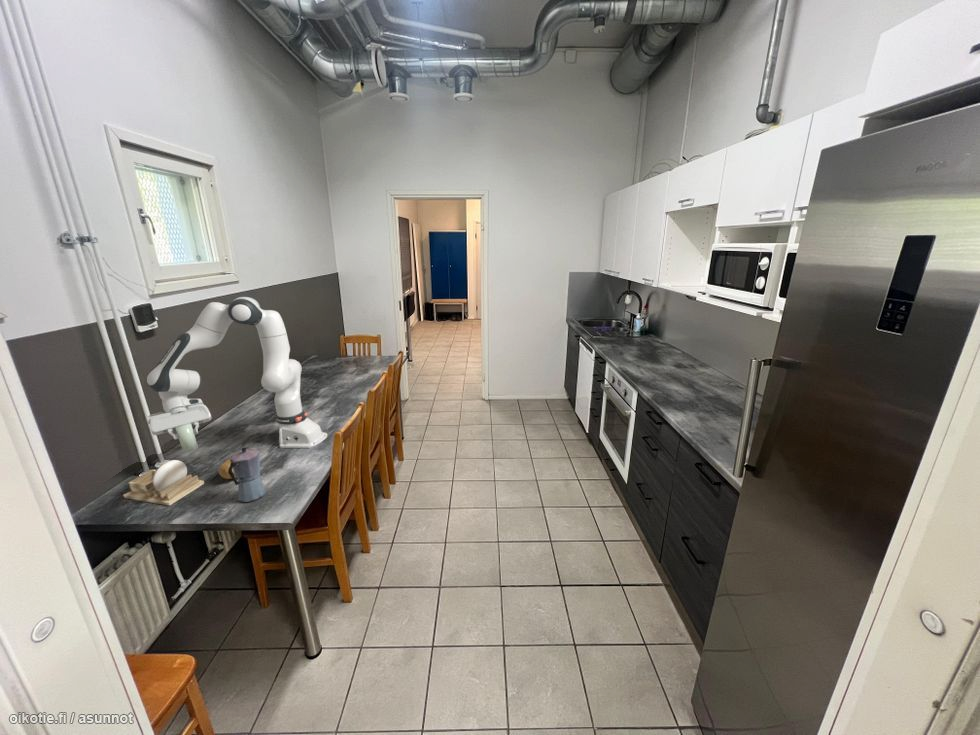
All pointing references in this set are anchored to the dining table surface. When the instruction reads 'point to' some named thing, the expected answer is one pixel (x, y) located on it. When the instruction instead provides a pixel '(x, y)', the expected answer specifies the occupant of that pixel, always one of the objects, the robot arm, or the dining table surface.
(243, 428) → the dining table surface
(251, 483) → the moka pot
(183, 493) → the rack
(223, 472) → the potato
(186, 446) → the pale green glossy part
